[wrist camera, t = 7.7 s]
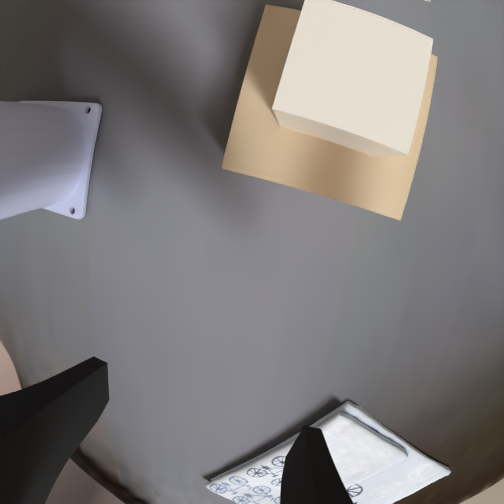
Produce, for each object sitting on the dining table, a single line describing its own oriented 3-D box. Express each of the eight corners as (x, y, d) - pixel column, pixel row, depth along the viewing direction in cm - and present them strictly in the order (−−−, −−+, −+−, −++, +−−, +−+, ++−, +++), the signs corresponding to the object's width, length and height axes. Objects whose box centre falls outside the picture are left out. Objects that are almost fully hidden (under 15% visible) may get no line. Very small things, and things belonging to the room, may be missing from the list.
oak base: (233, 167, 17) (221, 168, 15) (271, 26, 15) (266, 4, 12) (384, 210, 17) (400, 220, 14) (418, 70, 14) (437, 56, 11)
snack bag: (346, 392, 21) (349, 411, 19) (451, 465, 23) (455, 478, 21) (203, 475, 27) (198, 490, 25) (325, 526, 29) (325, 538, 27)
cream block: (280, 126, 14) (272, 108, 9) (304, 43, 12) (306, -6, 8) (372, 156, 13) (408, 155, 9) (394, 72, 12) (433, 39, 7)
